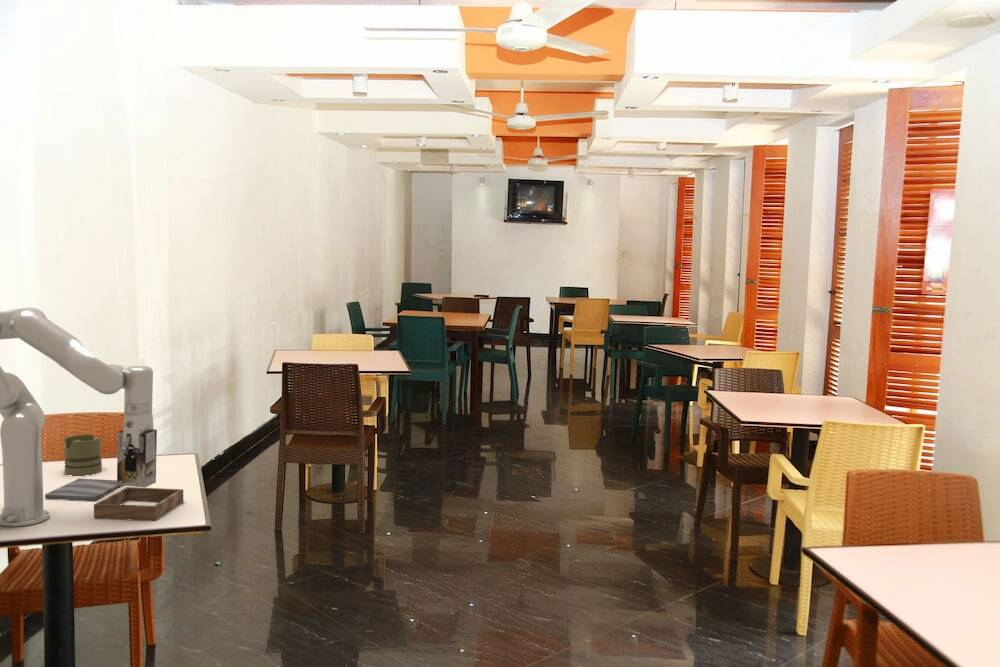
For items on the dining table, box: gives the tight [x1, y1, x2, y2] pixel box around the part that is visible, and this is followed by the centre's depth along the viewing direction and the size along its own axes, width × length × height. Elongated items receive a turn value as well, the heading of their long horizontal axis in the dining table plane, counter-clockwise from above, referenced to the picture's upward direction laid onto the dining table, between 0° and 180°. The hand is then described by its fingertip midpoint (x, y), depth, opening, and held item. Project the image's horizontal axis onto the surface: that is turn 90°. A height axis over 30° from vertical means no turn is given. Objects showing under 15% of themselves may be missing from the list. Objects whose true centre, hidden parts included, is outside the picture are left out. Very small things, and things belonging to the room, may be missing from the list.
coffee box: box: [116, 428, 158, 488], centre depth 237 cm, size 9×6×16 cm
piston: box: [63, 433, 103, 477], centre depth 277 cm, size 11×12×11 cm
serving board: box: [44, 478, 121, 502], centre depth 255 cm, size 18×16×2 cm
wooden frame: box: [93, 486, 184, 522], centre depth 239 cm, size 18×18×4 cm
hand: (136, 467), depth 237 cm, fingers closed on coffee box, 6 cm apart
